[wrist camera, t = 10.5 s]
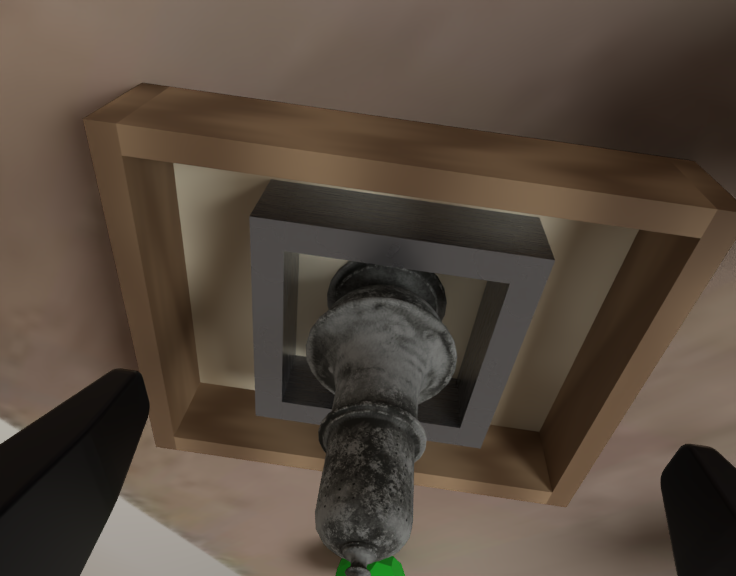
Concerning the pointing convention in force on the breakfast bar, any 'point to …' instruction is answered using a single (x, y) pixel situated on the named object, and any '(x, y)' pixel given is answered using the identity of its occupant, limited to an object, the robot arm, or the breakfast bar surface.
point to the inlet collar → (402, 250)
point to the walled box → (446, 186)
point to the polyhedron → (376, 567)
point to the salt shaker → (375, 403)
